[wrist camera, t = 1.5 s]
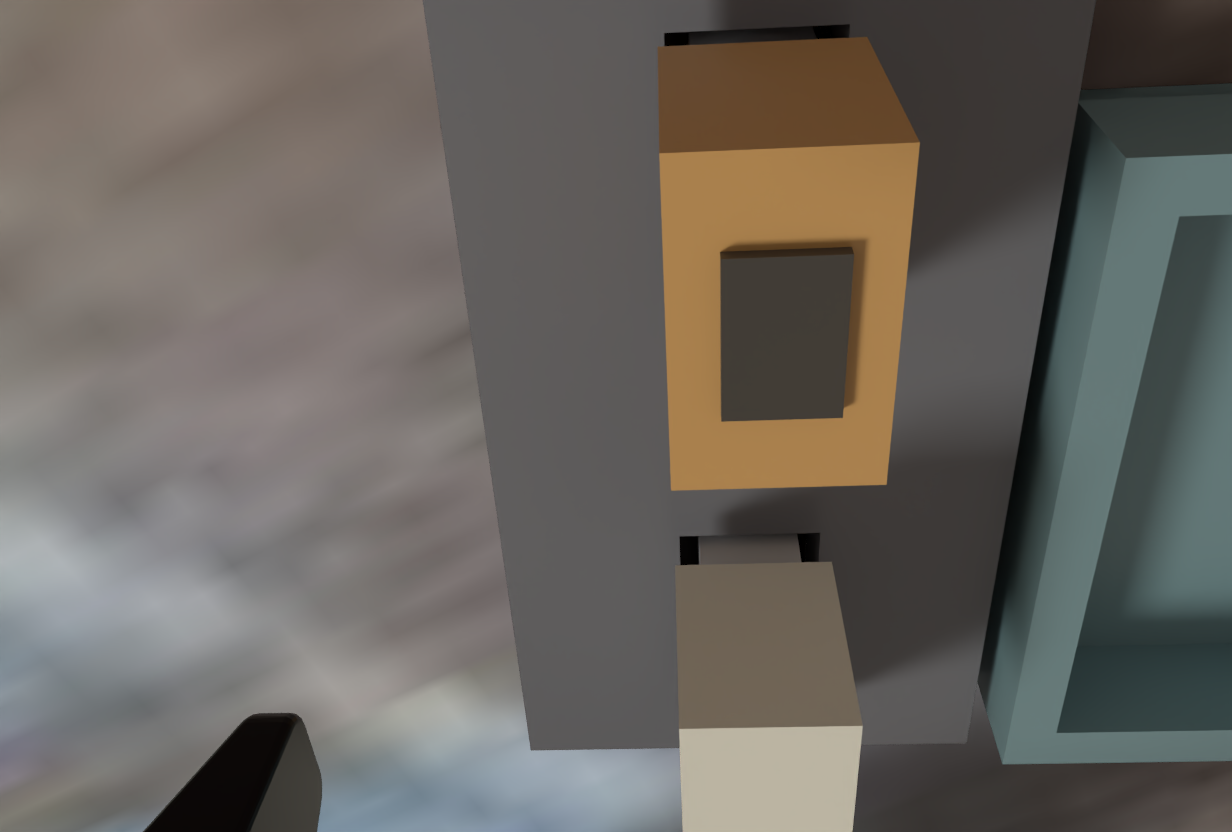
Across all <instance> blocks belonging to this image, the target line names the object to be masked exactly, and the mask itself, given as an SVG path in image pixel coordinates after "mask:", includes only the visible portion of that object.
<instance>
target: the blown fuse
mask: <svg viewBox="0 0 1232 832" xmlns="http://www.w3.org/2000/svg"><path fill="white" fill-rule="evenodd" d="M658 104H659V160H660V189H661V217H662V246H663V275H664V303H665V332H666V361H667V389H668V418H669V447H670V475H671V491H677V490H713V489H750V488H786V487H823V486H859V485H886V484H887V474H888V464H889V454H890V443H891V433H892V423H893V413H894V403H895V392H896V382H897V372H898V362H899V351H900V341H901V331H902V321H903V311H904V300H905V290H906V280H907V270H908V259H909V249H910V239H911V229H912V219H913V208H914V198H915V188H916V178H917V167H918V157H919V147H920V142H919V140H918V138H917V136H916V134H915V132H914V130H913V128H912V126H911V124H910V122H909V120H908V118H907V116H906V114H905V112H904V110H903V108H902V106H901V104H900V102H899V100H898V98H897V96H896V94H895V92H894V90H893V88H892V86H891V84H890V82H889V80H888V78H887V76H886V74H885V72H884V70H883V68H882V66H881V64H880V62H879V60H878V58H877V56H876V54H875V52H874V50H873V48H872V46H871V44H870V42H869V40H868V38H867V37H855V38H833V39H817V37H816V35H815V32H814V29H813V27H812V26H802V27H780V28H759V29H738V30H717V31H695V32H688V45H683V46H662V47H658Z"/></svg>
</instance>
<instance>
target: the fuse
mask: <svg viewBox="0 0 1232 832" xmlns="http://www.w3.org/2000/svg"><path fill="white" fill-rule="evenodd" d="M697 540H698V565H675V582H676V623H677V664H678V705H679V740H680V769H681V798H682V826H683V832H852V831H853V821H854V811H855V800H856V790H857V780H858V770H859V759H860V749H861V739H862V729H863V725H862V719H861V714H860V709H859V703H858V698H857V693H856V687H855V682H854V677H853V671H852V666H851V661H850V656H849V650H848V645H847V640H846V634H845V629H844V624H843V618H842V613H841V608H840V602H839V597H838V592H837V587H836V581H835V576H834V571H833V565H832V562H801V556H800V549H799V543H798V537H797V533H794V534H754V535H714V536H697Z"/></svg>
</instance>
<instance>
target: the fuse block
mask: <svg viewBox="0 0 1232 832" xmlns="http://www.w3.org/2000/svg"><path fill="white" fill-rule="evenodd" d="M1095 4H1096V0H423V5H424V12H425V19H426V26H427V33H428V40H429V47H430V54H431V61H432V68H433V75H434V82H435V89H436V95H437V102H438V109H439V116H440V123H441V130H442V137H443V144H444V151H445V158H446V165H447V172H448V179H449V186H450V193H451V199H452V206H453V213H454V220H455V227H456V234H457V241H458V248H459V255H460V262H461V269H462V276H463V283H464V290H465V297H466V303H467V310H468V317H469V324H470V331H471V338H472V345H473V352H474V359H475V366H476V373H477V380H478V387H479V394H480V400H481V407H482V414H483V421H484V428H485V435H486V442H487V449H488V456H489V463H490V470H491V477H492V484H493V491H494V498H495V504H496V511H497V518H498V525H499V532H500V539H501V546H502V553H503V560H504V567H505V574H506V581H507V588H508V595H509V602H510V608H511V615H512V622H513V629H514V636H515V643H516V650H517V657H518V664H519V671H520V678H521V685H522V692H523V699H524V705H525V712H526V719H527V726H528V733H529V740H530V747H531V750H581V749H644V748H680V740H679V705H678V664H677V623H676V582H675V565H680V538H679V536H714V535H754V534H794V533H806V546H805V562H832V565H833V571H834V576H835V581H836V587H837V592H838V597H839V602H840V608H841V613H842V618H843V624H844V629H845V634H846V640H847V645H848V650H849V656H850V661H851V666H852V671H853V677H854V682H855V687H856V693H857V698H858V703H859V709H860V714H861V719H862V725H863V729H862V739H861V745H896V744H959V743H967V738H968V732H969V726H970V721H971V715H972V709H973V704H974V698H975V692H976V686H977V681H978V675H979V669H980V663H981V658H982V652H983V646H984V640H985V635H986V629H987V623H988V618H989V612H990V606H991V600H992V595H993V589H994V583H995V577H996V572H997V566H998V560H999V554H1000V549H1001V543H1002V537H1003V532H1004V526H1005V520H1006V514H1007V509H1008V503H1009V497H1010V491H1011V486H1012V480H1013V474H1014V468H1015V463H1016V457H1017V451H1018V446H1019V440H1020V434H1021V428H1022V423H1023V417H1024V411H1025V405H1026V400H1027V394H1028V388H1029V382H1030V377H1031V371H1032V365H1033V360H1034V354H1035V348H1036V342H1037V337H1038V331H1039V325H1040V319H1041V314H1042V308H1043V302H1044V296H1045V291H1046V285H1047V279H1048V274H1049V268H1050V262H1051V256H1052V251H1053V245H1054V239H1055V233H1056V228H1057V222H1058V216H1059V210H1060V205H1061V199H1062V193H1063V188H1064V182H1065V176H1066V170H1067V165H1068V159H1069V153H1070V147H1071V142H1072V136H1073V130H1074V124H1075V119H1076V113H1077V107H1078V101H1079V96H1080V90H1081V84H1082V79H1083V73H1084V67H1085V61H1086V56H1087V50H1088V44H1089V38H1090V33H1091V27H1092V21H1093V15H1094V10H1095ZM823 25H831V39H833V38H855V37H867V38H868V40H869V42H870V44H871V46H872V48H873V50H874V52H875V54H876V56H877V58H878V60H879V62H880V64H881V66H882V68H883V70H884V72H885V74H886V76H887V78H888V80H889V82H890V84H891V86H892V88H893V90H894V92H895V94H896V96H897V98H898V100H899V102H900V104H901V106H902V108H903V110H904V112H905V114H906V116H907V118H908V120H909V122H910V124H911V126H912V128H913V130H914V132H915V134H916V136H917V138H918V140H919V142H920V147H919V157H918V167H917V178H916V188H915V198H914V208H913V219H912V229H911V239H910V249H909V259H908V270H907V280H906V290H905V300H904V311H903V321H902V331H901V341H900V351H899V362H898V372H897V382H896V392H895V403H894V413H893V423H892V433H891V443H890V454H889V464H888V474H887V484H886V485H859V486H823V487H786V488H750V489H713V490H677V491H671V475H670V447H669V418H668V389H667V361H666V332H665V303H664V275H663V246H662V217H661V189H660V160H659V104H658V47H662V46H664V33H674V32H695V31H717V30H738V29H759V28H780V27H802V26H823Z"/></svg>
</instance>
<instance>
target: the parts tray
mask: <svg viewBox="0 0 1232 832" xmlns="http://www.w3.org/2000/svg"><path fill="white" fill-rule="evenodd" d="M977 682H978V685H979V688H980V692H981V695H982V698H983V702H984V705H985V708H986V712H987V715H988V718H989V721H990V725H991V728H992V731H993V735H994V738H995V741H996V745H997V748H998V751H999V754H1000V758H1001V761H1002V764H1061V763H1128V762H1195V761H1232V83H1228V84H1205V85H1183V86H1160V87H1137V88H1114V89H1091V90H1080V96H1079V101H1078V107H1077V113H1076V119H1075V124H1074V130H1073V136H1072V142H1071V147H1070V153H1069V159H1068V165H1067V170H1066V176H1065V182H1064V188H1063V193H1062V199H1061V205H1060V210H1059V216H1058V222H1057V228H1056V233H1055V239H1054V245H1053V251H1052V256H1051V262H1050V268H1049V274H1048V279H1047V285H1046V291H1045V296H1044V302H1043V308H1042V314H1041V319H1040V325H1039V331H1038V337H1037V342H1036V348H1035V354H1034V360H1033V365H1032V371H1031V377H1030V382H1029V388H1028V394H1027V400H1026V405H1025V411H1024V417H1023V423H1022V428H1021V434H1020V440H1019V446H1018V451H1017V457H1016V463H1015V468H1014V474H1013V480H1012V486H1011V491H1010V497H1009V503H1008V509H1007V514H1006V520H1005V526H1004V532H1003V537H1002V543H1001V549H1000V554H999V560H998V566H997V572H996V577H995V583H994V589H993V595H992V600H991V606H990V612H989V618H988V623H987V629H986V635H985V640H984V646H983V652H982V658H981V663H980V669H979V675H978V681H977Z"/></svg>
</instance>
